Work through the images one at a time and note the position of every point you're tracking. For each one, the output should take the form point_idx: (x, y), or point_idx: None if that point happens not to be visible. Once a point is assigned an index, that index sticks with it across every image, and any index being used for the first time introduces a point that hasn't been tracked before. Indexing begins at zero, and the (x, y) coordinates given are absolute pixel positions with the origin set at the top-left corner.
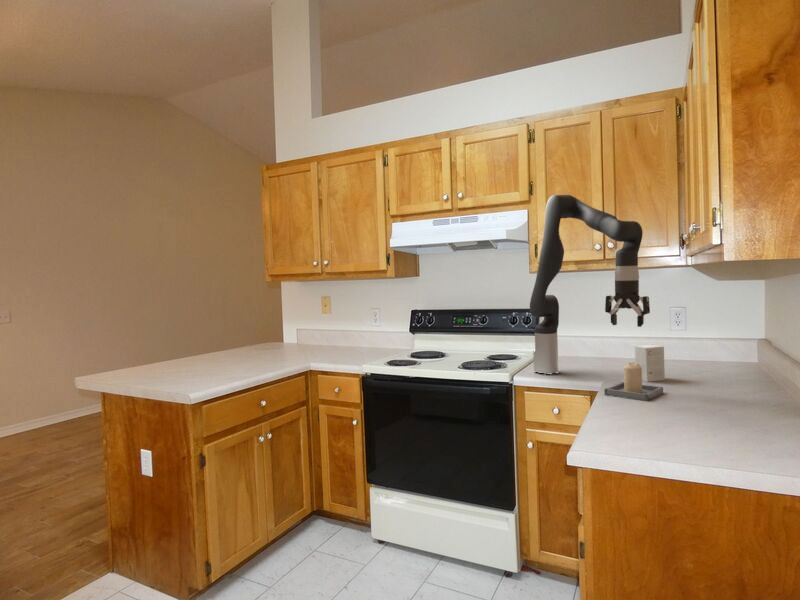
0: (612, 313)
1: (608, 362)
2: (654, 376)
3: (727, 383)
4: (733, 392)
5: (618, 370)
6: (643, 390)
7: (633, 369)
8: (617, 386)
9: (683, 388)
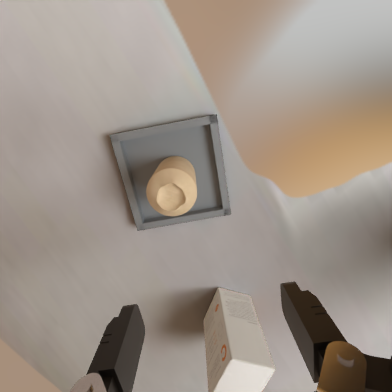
0: (335, 351)
1: None
2: (212, 308)
3: None
4: (65, 310)
5: None
6: None
7: (155, 172)
8: (218, 176)
9: (139, 283)
